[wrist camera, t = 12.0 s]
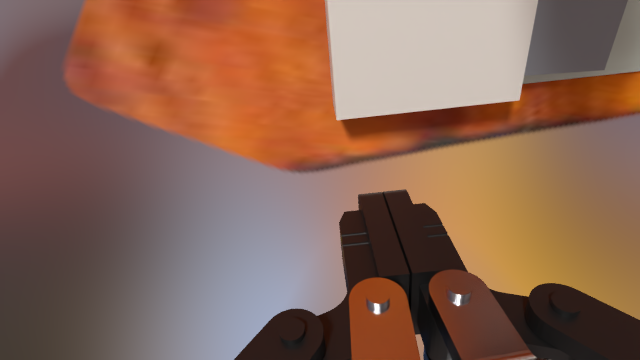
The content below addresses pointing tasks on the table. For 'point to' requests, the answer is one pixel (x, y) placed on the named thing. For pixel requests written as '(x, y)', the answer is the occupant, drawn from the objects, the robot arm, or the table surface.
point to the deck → (426, 53)
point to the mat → (626, 54)
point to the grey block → (573, 35)
